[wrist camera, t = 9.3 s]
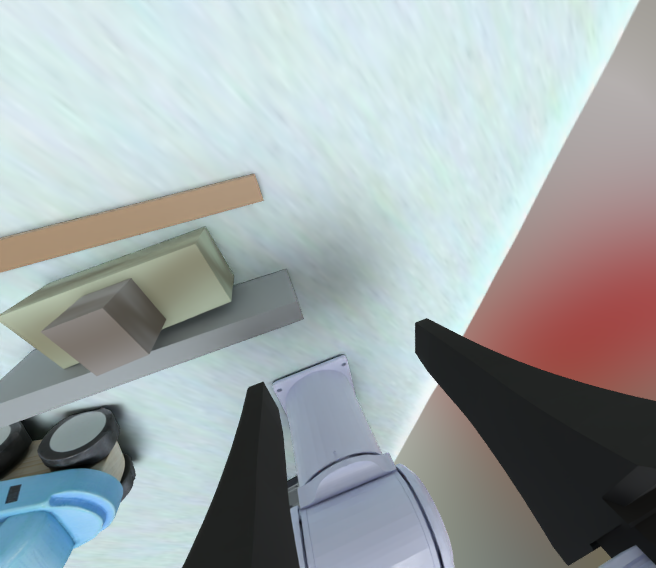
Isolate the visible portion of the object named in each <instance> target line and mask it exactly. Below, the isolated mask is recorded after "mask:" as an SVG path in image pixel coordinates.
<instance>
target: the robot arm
mask: <svg viewBox="0 0 656 568" xmlns="http://www.w3.org/2000/svg"><path fill="white" fill-rule="evenodd" d="M415 353H416V354H417V356H418V358H419V359H420V361H421V362H422V364H423V365H424V367H425V368H426V369H427V371H428V372H429V373H430V375H431V376H432V377H433V378H434V379H435V381H436V382H437V383H438V384H439V385H440V387H441V388H442V389H443V390H444V391H445V392H446V394H447V395H448V396H449V397H450V398H451V399H452V400H453V402H454V403H455V404H456V405H457V406H458V407H459V409H460V410H461V411H462V412H463V413H464V415H465V416H466V417H467V418H468V420H469V421H470V422H471V423H472V425H473V426H474V427H475V428H476V430H477V431H478V433H479V434H480V436H481V437H482V438H483V440H484V441H485V443H486V444H487V445H488V447H489V448H490V450H491V451H492V453H493V454H494V455H495V457H496V458H497V460H498V461H499V463H500V464H501V466H502V467H503V468H504V470H505V471H506V473H507V474H508V476H509V477H510V479H511V481H512V482H513V484H514V485H515V486H516V488H517V490H518V491H519V493H520V494H521V496H522V497H523V499H524V500H525V502H526V504H527V505H528V507H529V508H530V510H531V512H532V513H533V515H534V516H535V518H536V520H537V521H538V523H539V524H540V526H541V528H542V529H543V531H544V532H545V534H546V536H547V537H548V539H549V541H550V542H551V544H552V546H553V547H554V549H555V550H556V551H557V552H558V554H559V555H560V556H561V558H562V559H563V560H564V562H565V563H566V564H567V565H570V564H572V563H573V562H575V561H577V560H579V559H580V558H582V557H584V556H585V555H587V554H589V553H590V552H592V551H594V550H595V549H597V548H598V547H600V546H601V547H602V548H603V549H604V550H605V551H606V552H607V554H608V555H609V556H610V557H611V558H612V559H610V560H609V561H607V562H605V563H604V564H602V565H601V566H599V567H598V568H656V401H653V400H648V399H644V398H639V397H635V396H631V395H626V394H622V393H618V392H614V391H611V390H607V389H603V388H599V387H596V386H592V385H589V384H585V383H582V382H578V381H575V380H572V379H568V378H565V377H562V376H559V375H555V374H553V373H550V372H547V371H544V370H541V369H538V368H535V367H533V366H530V365H527V364H525V363H522V362H519V361H517V360H514V359H512V358H509V357H507V356H504V355H502V354H499V353H497V352H495V351H493V350H490V349H488V348H486V347H483V346H481V345H479V344H477V343H475V342H473V341H471V340H469V339H467V338H465V337H463V336H461V335H459V334H457V333H455V332H453V331H451V330H449V329H447V328H445V327H443V326H441V325H439V324H437V323H435V322H433V321H431V320H429V319H427V318H426V319H424V320H421V321H418V322H416V323H415ZM342 363H343V364H342ZM272 386H273V390H274V392H275V394H276V396H277V397H278V399H279V401H280V403H281V405H282V407H283V409H284V411H285V413H286V415H287V417H288V420H289V426H290V433H291V439H292V445H293V451H294V457H295V463H296V469H297V476H298V482H299V488H298V489H297V491H298V498H299V504H300V509H299V506H298V505H297V506H294V507H292V508H291V509H290V505H289V496H288V485H287V473H286V461H285V449H284V438H283V430H282V425H281V420H280V415H279V410H278V407H277V405H276V404H275V402H274V400H273V398H272V396H271V395H270V393H269V391H268V389H267V387H266V386H265V384H264V382H261V383H258V384H256V385H253V386H251V387H249V388H248V390H247V394H246V398H245V402H244V406H243V410H242V414H241V418H240V421H239V425H238V428H237V431H236V435H235V438H234V441H233V444H232V448H231V451H230V454H229V457H228V459H227V462H226V465H225V468H224V471H223V474H222V476H221V479H220V482H219V484H218V487H217V490H216V492H215V495H214V497H213V500H212V502H211V505H210V507H209V509H208V512H207V514H206V517H205V519H204V521H203V524H202V526H201V528H200V530H199V532H198V535H197V537H196V539H195V541H194V544H193V546H192V548H191V550H190V552H189V554H188V557H187V559H186V561H185V563H184V565H183V567H182V568H455V566H454V561H453V552H452V547H451V543H450V540H449V537H448V534H447V531H446V529H445V526H444V523H443V521H442V518H441V516H440V514H439V512H438V510H437V507H436V506H435V503H434V501H433V499H432V498H431V496H430V494H429V493H428V491H427V489H426V487H425V486H424V484H423V483H422V481H421V480H420V479H419V478H418V476H417V475H416V474H415V473H414V472H412V471H411V470H409V469H408V468H407V467H406V466H404V465H403V464H397V465H394V462H393V460H392V458H391V456H390V454H389V453H385V454H382V452H381V450H380V448H379V446H378V443H377V441H376V439H375V437H374V435H373V433H372V430H371V428H370V426H369V424H368V422H367V420H366V417H365V415H364V413H363V411H362V409H361V407H360V404H359V402H358V400H357V398H356V394H355V390H354V385H353V381H352V377H351V373H350V369H349V365H348V360H347V358H346V356H344V355H342V356H339V357H336V358H334V359H331V360H329V361H326V362H324V363H321V364H319V365H316V366H314V367H311V368H308V369H306V370H303V371H301V372H298V373H296V374H293V375H291V376H288V377H286V378H283V379H280V380H278V381H276V382H274V383H273V385H272ZM279 388H280V389H279Z"/></svg>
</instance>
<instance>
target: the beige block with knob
mask: <svg viewBox="0 0 656 568" xmlns="http://www.w3.org/2000/svg"><path fill="white" fill-rule="evenodd" d="M233 280H234V275H233V273H232V272H231V270H230V268H229V266H228V265H227V263H226V261H225V259H224V258H223V256H222V254H221V253H220V251H219V249H218V247H217V246H216V244H215V242H214V240H213V239H212V237H211V235H210V233H209V232H208V230H207V228H206V226H205V227H203V228H200V229H197V230H194V231H192V232H189V233H186V234H183V235H181V236H178V237H175V238H172V239H170V240H167V241H164V242H161V243H159V244H156V245H153V246H150V247H147V248H145V249H142V250H139V251H136V252H134V253H131V254H128V255H125V256H123V257H120V258H117V259H114V260H112V261H109V262H106V263H103V264H101V265H98V266H95V267H92V268H90V269H87V270H84V271H81V272H79V273H76V274H73V275H70V276H68V277H65V278H62V279H59V280H57V281H54V282H51V283H49V284H47V285H46V286H44V287H42V288H41V289H39V290H38V291H36V292H35V293H33V294H31V295H30V296H28V297H27V298H25V299H24V300H22V301H21V302H19V303H17V304H16V305H14V306H13V307H11V308H10V309H8V310H6V311H5V312H3V313H2V314H0V322H1V323H2V324H4V325H5V326H6V327H8V328H9V329H10V330H12V331H13V332H14V333H16V334H17V335H18V336H20V337H21V338H22V339H24V340H25V341H27V342H28V343H29V344H31V345H32V346H33V347H35V348H36V349H37V350H39V351H40V352H41V353H43V354H44V355H45V356H47V357H48V358H49V359H51V360H52V361H54V362H55V363H56V364H58V365H59V366H60V367H62V368H63V369H66V368H68V367H70V366H73V365H75V364H78V363H80V364H82V365H83V366H84V367H85V368H87V369H88V370H89V371H91V372H92V373H93V374H94V375H96V376H99V375H101V374H104V373H106V372H109V371H111V370H113V369H116V368H118V367H121V366H123V365H125V364H128V363H130V362H133V361H135V360H138V359H140V358H142V357H145V356H147V355H149V354H150V352H151V350H152V348H153V346H154V344H155V342H156V340H157V338H158V336H159V334H160V332H161V330H162V329H164V328H167V327H169V326H172V325H174V324H177V323H179V322H182V321H184V320H187V319H189V318H192V317H194V316H197V315H199V314H201V313H204V312H206V311H209V310H211V309H214V308H216V307H219V306H221V305H224V304H226V303H229V302H231V300H232V290H233Z"/></svg>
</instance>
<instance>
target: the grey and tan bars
mask: <svg viewBox="0 0 656 568" xmlns="http://www.w3.org/2000/svg"><path fill="white" fill-rule="evenodd" d="M260 201H264V200H263V197H262V194H261V191H260V188H259V185H258V182H257V179H256V176H255V174H250V175H247V176H243V177H239V178H235V179H231V180H227V181H223V182H219V183H215V184H211V185H207V186H203V187H199V188H195V189H191V190H187V191H184V192H180V193H176V194H172V195H168V196H164V197H160V198H156V199H152V200H148V201H144V202H140V203H136V204H132V205H128V206H124V207H121V208H117V209H113V210H109V211H105V212H101V213H97V214H93V215H89V216H85V217H81V218H77V219H73V220H69V221H65V222H61V223H58V224H54V225H50V226H46V227H42V228H38V229H34V230H30V231H26V232H22V233H18V234H14V235H10V236H6V237H2V238H0V272H4V271H8V270H11V269H15V268H19V267H22V266H26V265H30V264H33V263H37V262H41V261H44V260H48V259H52V258H55V257H59V256H63V255H66V254H70V253H74V252H77V251H81V250H85V249H88V248H92V247H96V246H99V245H103V244H107V243H110V242H114V241H118V240H121V239H125V238H129V237H132V236H136V235H140V234H143V233H147V232H151V231H154V230H158V229H162V228H165V227H169V226H173V225H176V224H180V223H184V222H187V221H191V220H195V219H198V218H202V217H206V216H209V215H213V214H217V213H220V212H224V211H228V210H231V209H235V208H238V207H242V206H246V205H249V204H253V203H257V202H260ZM303 319H304V318H303V315H302V312H301V309H300V306H299V303H298V300H297V297H296V294H295V292H294V289H293V286H292V283H291V281H290V278H289V275H288V272H287V269H285V270H281V271H278V272H275V273H272V274H269V275H266V276H263V277H260V278H257V279H254V280H250V281H247V282H244V283H241V284H238V285H235V286H233V290H232V300H231V302H229V303H226V304H224V305H221V306H219V307H216V308H214V309H211V310H209V311H206V312H204V313H201V314H199V315H197V316H194V317H192V318H189V319H187V320H184V321H182V322H179V323H177V324H174V325H172V326H169V327H167V328H164V329H162V330H161V332H160V334H159V336H158V338H157V340H156V342H155V344H154V346H153V348H152V350H151V352H150V354H149V355H147V356H145V357H142V358H140V359H138V360H135V361H133V362H130V363H128V364H125V365H123V366H121V367H118V368H116V369H113V370H111V371H109V372H106V373H104V374H101V375H99V376H96V375H94V374H93V373H92V372H91V371H89V370H88V369H87V368H85V367H84V366H83V365H82V364H80V363H78V364H75V365H73V366H70V367H68V368H66V369H63V368H62V367H60V366H59V365H58V364H56V363H55V362H54V361H52V360H51V359H49V358H48V357H47V356H45V355H44V354H43V353H41V352H40V351H39V350H37V349H36V350H33V351H32V352H31V353H30V354H28V355H27V356H26V357H25V358H24V359H23V360H22V361H21V362H20V363H19V364H17V365H16V366H15V367H14V368H13V369H12V370H11V371H10V372H9V373H8V374H6V375H5V376H4V377H3V378H2V379H1V380H0V428H2V427H5V426H8V425H11V424H13V423H16V422H19V421H22V420H24V419H27V418H30V417H33V416H36V415H38V414H41V413H44V412H47V411H50V410H52V409H55V408H58V407H61V406H63V405H66V404H69V403H72V402H75V401H77V400H80V399H83V398H86V397H89V396H91V395H94V394H97V393H100V392H102V391H105V390H108V389H111V388H114V387H116V386H119V385H122V384H125V383H127V382H130V381H133V380H136V379H139V378H141V377H144V376H147V375H150V374H153V373H155V372H158V371H161V370H164V369H166V368H169V367H172V366H175V365H178V364H180V363H183V362H186V361H189V360H192V359H194V358H197V357H200V356H203V355H205V354H208V353H211V352H214V351H217V350H219V349H222V348H225V347H228V346H230V345H233V344H236V343H239V342H242V341H244V340H247V339H250V338H253V337H256V336H258V335H261V334H264V333H267V332H269V331H272V330H275V329H278V328H281V327H283V326H286V325H289V324H292V323H295V322H297V321H300V320H303Z"/></svg>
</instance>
